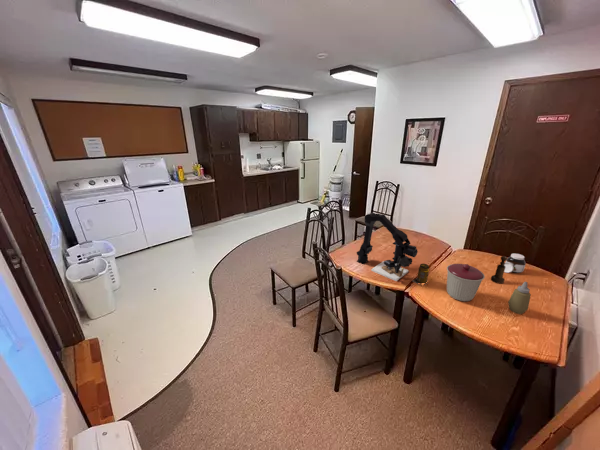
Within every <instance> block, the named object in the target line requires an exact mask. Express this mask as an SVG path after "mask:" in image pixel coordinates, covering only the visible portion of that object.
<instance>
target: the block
mask: <svg viewBox="0 0 600 450" xmlns="http://www.w3.org/2000/svg"><path fill="white" fill-rule="evenodd" d="M382 269H383V270H385V271H386V272H388V273H389V274H390V273H394V274H396V275H397V276H399V277H401V276H402V271H400V270H399V271H398V273H396V272H395V269H394V267H392V270H389V269H388V266H382ZM401 278H402V277H401Z"/></svg>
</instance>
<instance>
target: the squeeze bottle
mask: <svg viewBox="0 0 600 450" xmlns="http://www.w3.org/2000/svg"><path fill="white" fill-rule="evenodd" d="M530 291H531V290H530V288H529V287H528V282H527V281H524V282H523V283H522V284H521V285H518V286H517V288H515V289H514V290H513V292H512V294H511V296H510V297H509V300H508V302H507V303H508V309H509V310H510V312H512V313H515V314H518V315H523V314H524V313H526V312H527V311H528V309H529V306H530V302H531V301H530V300H531V295H532V294H531V293H530Z"/></svg>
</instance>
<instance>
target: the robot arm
mask: <svg viewBox="0 0 600 450" xmlns="http://www.w3.org/2000/svg"><path fill="white" fill-rule="evenodd" d="M376 222H380V223H381V224H382V225H383V226H384V228H385V229H386V230H387V231H388V232H389V233H390V234H391V237H392V238H393V240H394V242H392V244H393V245H395V249H394V251H392V252H393V253H392V254H393V257H392V259H386V260H383V261H384V264H385V265H386V266H388V267H389V268H392V267H394V269H395V272H396V273H398V271H399V269H400V268H408V267H409V266H410V265H412V264H413V258H415V257H416V256H417V255H418V249H417V246H416V245H411V241H410V240H409V238H408V234H406V233H405V232H404V231H403V230H400V229H398V228H397V227H396V225H395V224H393V223H392V221H390V220H389V218H388V217H386V215H385V214H383V213H382V214H381V213H375V212H370V213H367V214H365V216H364V223H365V231H364V235H363V236H364V237H363V243H362V244H361V245H360V249H359V250H358V251H356V256H358V257H357V260H356V262H357V263H359V264H362V265H366V264H367V263H368V262H369V257H368V255H369V254H370V253H371V252H372V251H373V247H374V246H373V245H372V244H371V241H372V240H371V239H372V235H373V228H374V225H375V223H376Z"/></svg>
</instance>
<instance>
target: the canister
mask: <svg viewBox="0 0 600 450" xmlns="http://www.w3.org/2000/svg"><path fill="white" fill-rule="evenodd" d="M446 270H447V274H446V275H447V276H446V277H447V278H446V292H447V294H448V295H449V296H450V297H451V298H453V299H455V300H456V301H460V302H470V301H472V300H473V299H474V298H475V296H476V294H477V293H478V290H479V288H480V285H481V284H482V282H483V280H484V279H485V277H486V276H485V274H484V273H483V272H482V271H481V270H479V269H478V268H477V267H475V266H472V265H470V264H467V263H464V264H463V263H452V264H449V265H447V266H446Z"/></svg>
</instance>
